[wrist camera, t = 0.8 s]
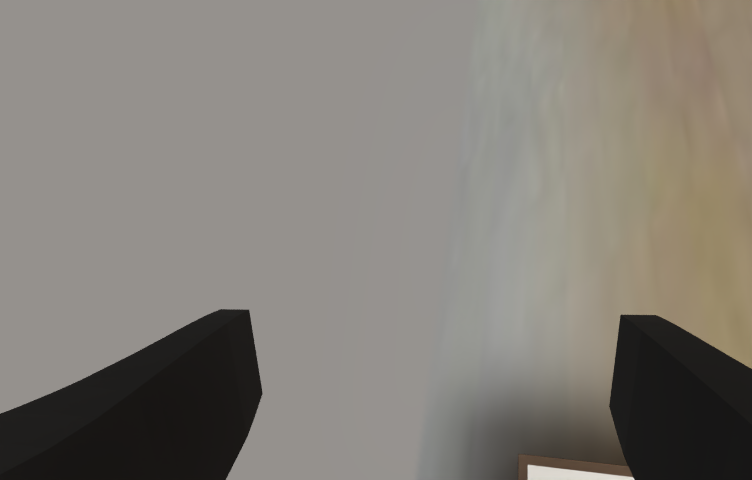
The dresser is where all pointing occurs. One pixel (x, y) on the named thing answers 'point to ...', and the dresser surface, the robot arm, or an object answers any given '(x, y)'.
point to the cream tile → (568, 474)
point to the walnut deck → (568, 466)
